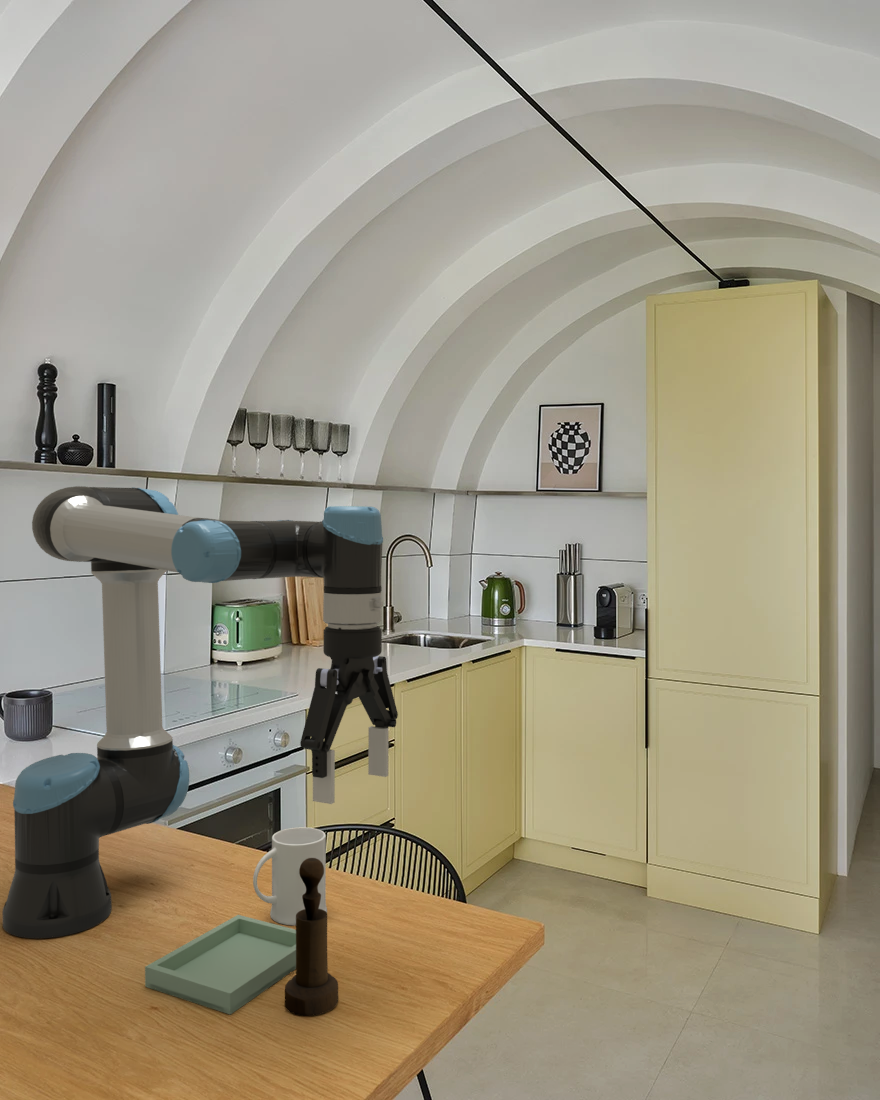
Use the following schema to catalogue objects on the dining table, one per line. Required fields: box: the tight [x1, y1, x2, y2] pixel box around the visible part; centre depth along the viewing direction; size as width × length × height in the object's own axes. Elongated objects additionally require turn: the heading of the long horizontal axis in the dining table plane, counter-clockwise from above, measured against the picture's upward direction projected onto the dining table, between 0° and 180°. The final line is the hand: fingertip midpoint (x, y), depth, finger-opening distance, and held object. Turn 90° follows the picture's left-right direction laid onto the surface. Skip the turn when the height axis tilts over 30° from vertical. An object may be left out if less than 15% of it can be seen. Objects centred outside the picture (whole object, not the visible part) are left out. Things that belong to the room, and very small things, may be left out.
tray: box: [144, 914, 296, 1015], centre depth 124 cm, size 14×18×3 cm
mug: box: [252, 826, 328, 927], centre depth 141 cm, size 12×8×12 cm
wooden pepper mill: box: [284, 858, 339, 1017], centre depth 116 cm, size 7×6×18 cm
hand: (352, 788), depth 122 cm, fingers open, 13 cm apart
